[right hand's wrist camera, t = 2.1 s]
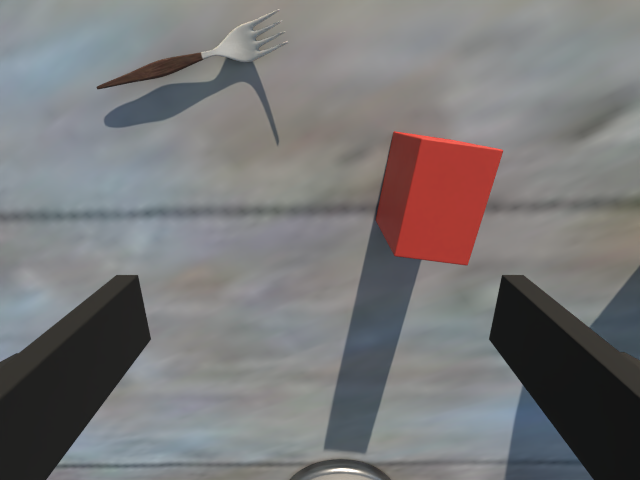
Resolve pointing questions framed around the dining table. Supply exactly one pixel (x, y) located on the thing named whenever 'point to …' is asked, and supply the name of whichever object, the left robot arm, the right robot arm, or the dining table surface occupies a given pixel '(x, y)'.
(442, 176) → the brick
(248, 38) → the fork
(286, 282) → the dining table surface
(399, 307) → the dining table surface
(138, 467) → the dining table surface
